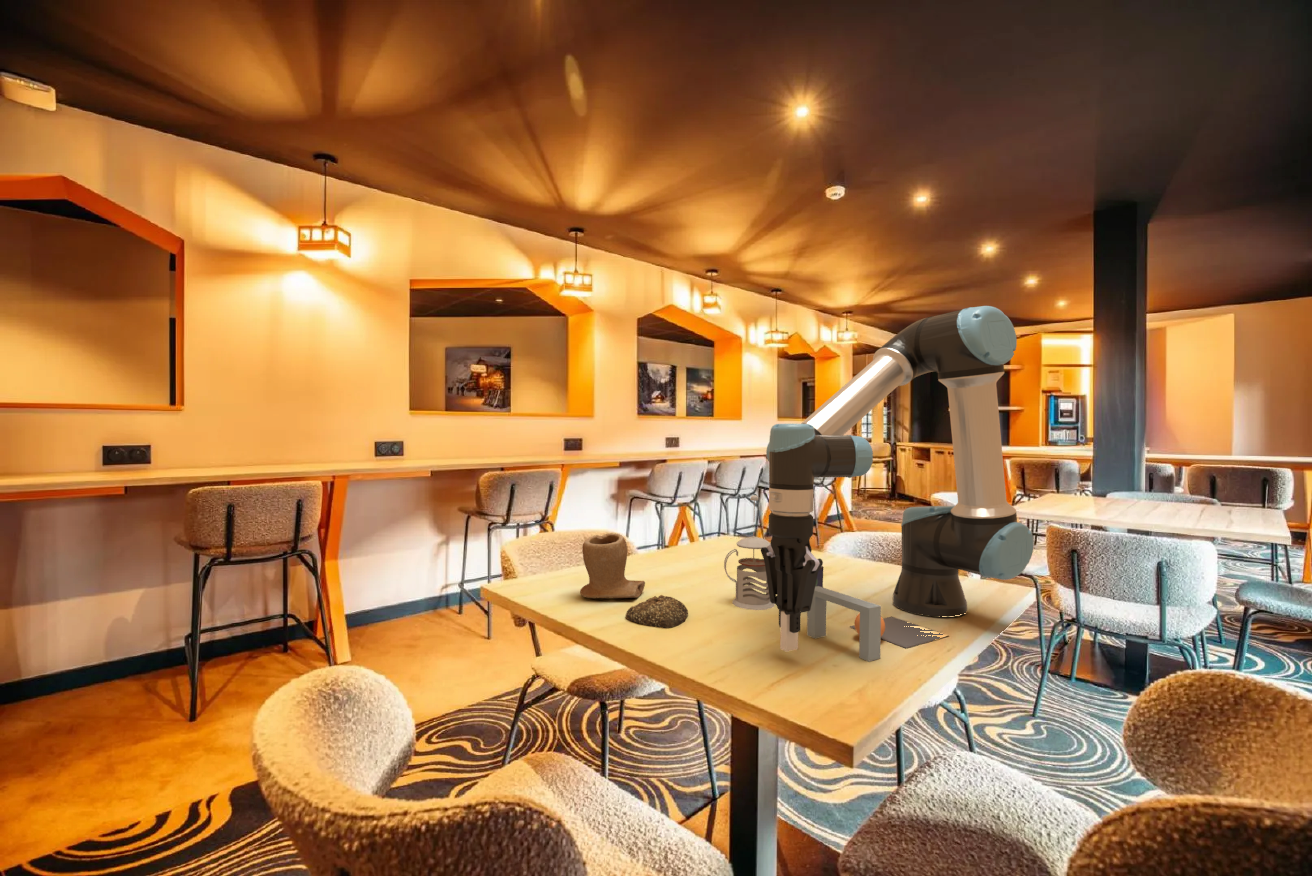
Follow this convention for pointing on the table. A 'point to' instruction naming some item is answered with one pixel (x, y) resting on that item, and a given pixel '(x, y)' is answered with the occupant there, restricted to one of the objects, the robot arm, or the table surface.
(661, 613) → the bread roll
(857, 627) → the ball
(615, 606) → the table surface
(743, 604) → the french press
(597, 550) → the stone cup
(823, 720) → the table surface
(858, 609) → the bridge
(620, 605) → the table surface
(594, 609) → the table surface
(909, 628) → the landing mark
